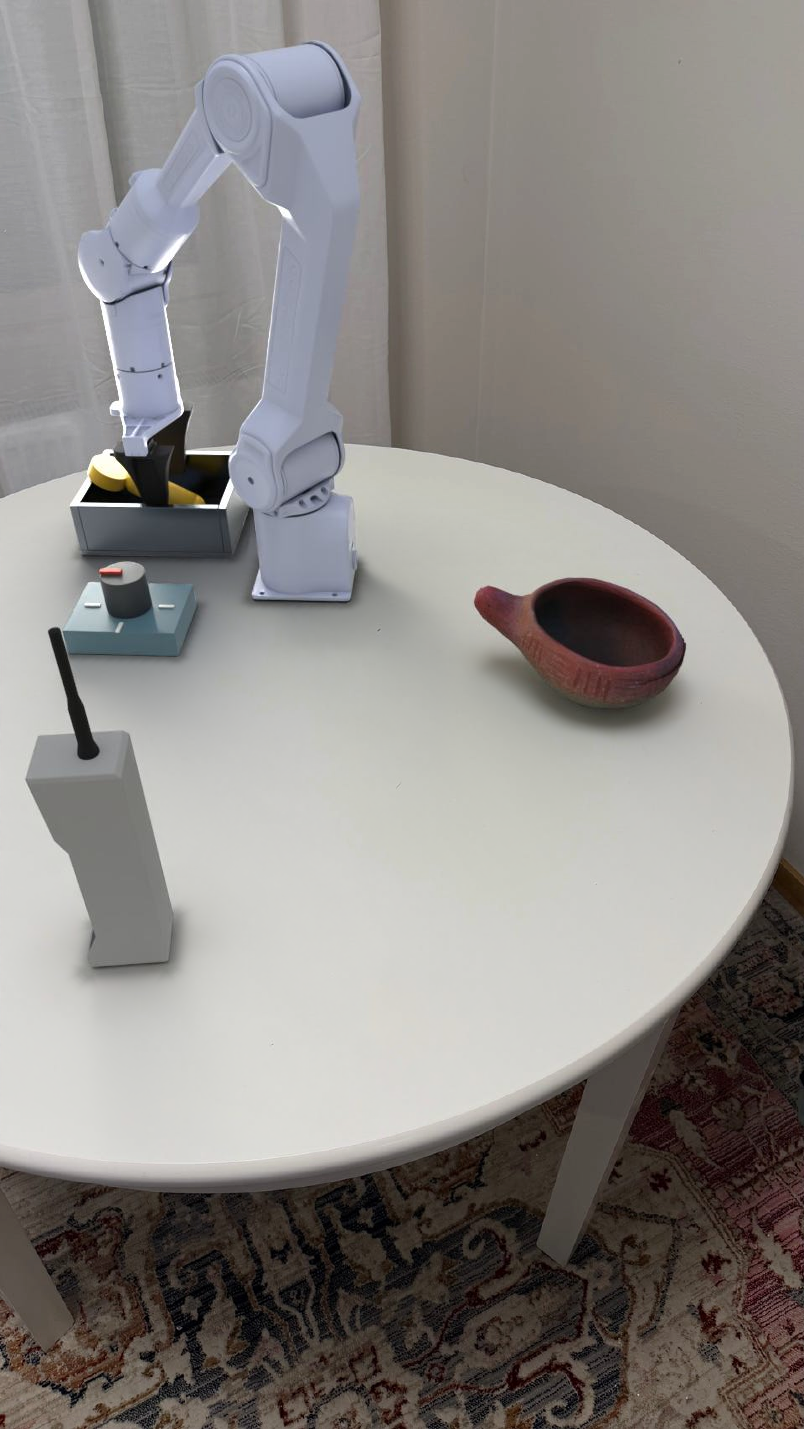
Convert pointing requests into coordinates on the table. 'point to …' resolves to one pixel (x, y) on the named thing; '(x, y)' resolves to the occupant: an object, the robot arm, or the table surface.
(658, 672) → the bowl
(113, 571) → the rotary knob
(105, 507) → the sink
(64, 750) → the vintage mobile phone
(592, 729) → the table surface
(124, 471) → the yellow disc and capsule
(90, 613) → the dial base
